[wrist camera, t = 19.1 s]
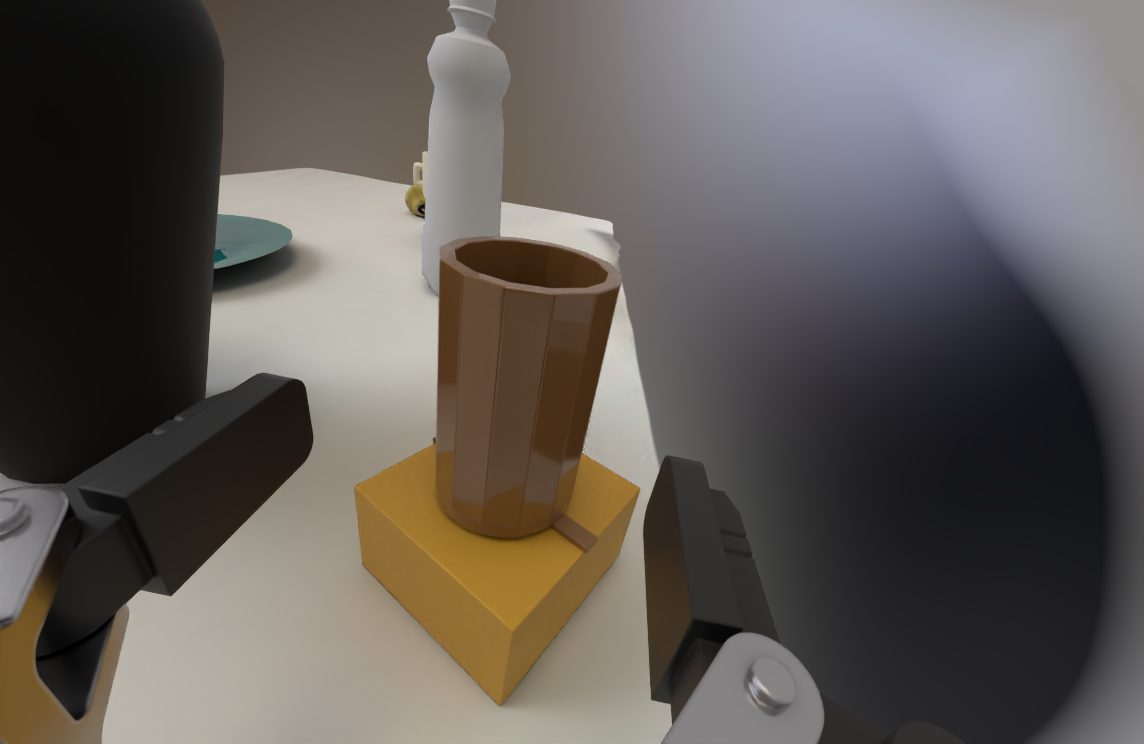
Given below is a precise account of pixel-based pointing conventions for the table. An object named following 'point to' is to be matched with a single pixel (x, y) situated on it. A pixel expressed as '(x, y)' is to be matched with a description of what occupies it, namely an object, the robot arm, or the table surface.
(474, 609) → the box
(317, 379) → the table surface
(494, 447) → the cup
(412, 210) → the fruit
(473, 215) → the bottle
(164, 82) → the vase
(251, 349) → the table surface
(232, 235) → the boat on round base
